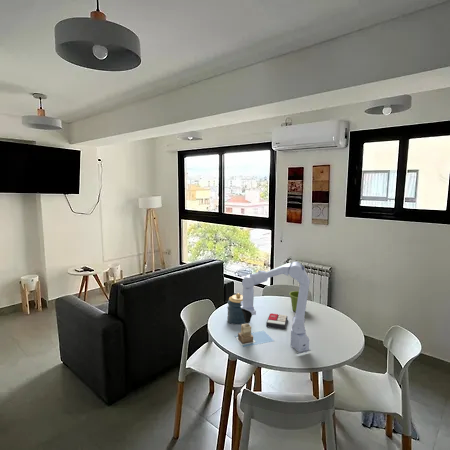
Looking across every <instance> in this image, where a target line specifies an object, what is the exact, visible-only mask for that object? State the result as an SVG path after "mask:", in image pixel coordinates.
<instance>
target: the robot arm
mask: <svg viewBox="0 0 450 450" xmlns="http://www.w3.org/2000/svg"><path fill="white" fill-rule="evenodd" d="M279 275H285V276H287V277H289V276H290V277H291V278H293V279H294V280H295V281H297V282H298V283H299V290H298V291H299V294H298V301H297V307H296V311H295V314H294V316H293V317H292V325H291V329H290V343H289V344H290V347H291V348H293V349H295V350H296V351H297V353H296V354H302V353H306V352H310V351H311V349H310V338H309V336H307V333H306V332H307V331H306V327H305V326H306V325H305V323H306V320H305V315H306V311H307V310H306V309H307V302H308V298H309V297H308V295H309V290H310V289H309V288H310V283H311V282H310V281H311V280H310V277H309V275H308V273H307V271H306V269H305V266H304V265H302V263H300V261H291V262H288V263H285V264H283V265H280V266H277V267H275V268H272V269H270V270H267V271H265V270H260V269H259V270H258V271H257V272H254V273H250V274H247V275H245V276H244V277H243V278H242V282H241V284H242V295H243V301H241V305H242V306H241V309H242V312H243V314H244V318H245V322H246V323H245V324H250V323H251V319H252V317H253V316H256V314H257V311H256V310H255V306H254V298H255V297H254V292H255V290H254V286H256V285H259V284H262V283H265V282H267V281H268V280H269V278H273V277H277V276H279Z"/></svg>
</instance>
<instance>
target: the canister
mask: <svg viewBox="0 0 450 450" xmlns="http://www.w3.org/2000/svg"><path fill="white" fill-rule="evenodd" d="M241 301H243V294H240V293H239V292H237V293H236V294H233V295H232V296H229V298H228V300H227V307H226V308H227V322H228V323H229V324H230V325H232V324H233V325H242V324H247V323H246V322H245V318H244V314H243V312H242V309H241V306H242V305H241Z"/></svg>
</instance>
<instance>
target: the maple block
mask: <svg viewBox="0 0 450 450" xmlns="http://www.w3.org/2000/svg"><path fill="white" fill-rule="evenodd" d="M240 325H241V326H240V333H241V334H242V335H243V336H244V337H247V336H251V333H252V326H251V325H250V323H244V324H240Z"/></svg>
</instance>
